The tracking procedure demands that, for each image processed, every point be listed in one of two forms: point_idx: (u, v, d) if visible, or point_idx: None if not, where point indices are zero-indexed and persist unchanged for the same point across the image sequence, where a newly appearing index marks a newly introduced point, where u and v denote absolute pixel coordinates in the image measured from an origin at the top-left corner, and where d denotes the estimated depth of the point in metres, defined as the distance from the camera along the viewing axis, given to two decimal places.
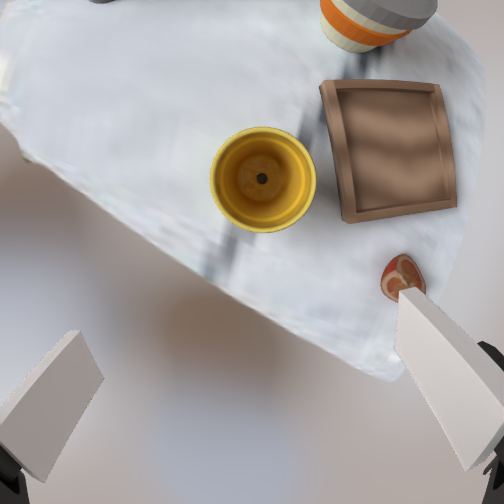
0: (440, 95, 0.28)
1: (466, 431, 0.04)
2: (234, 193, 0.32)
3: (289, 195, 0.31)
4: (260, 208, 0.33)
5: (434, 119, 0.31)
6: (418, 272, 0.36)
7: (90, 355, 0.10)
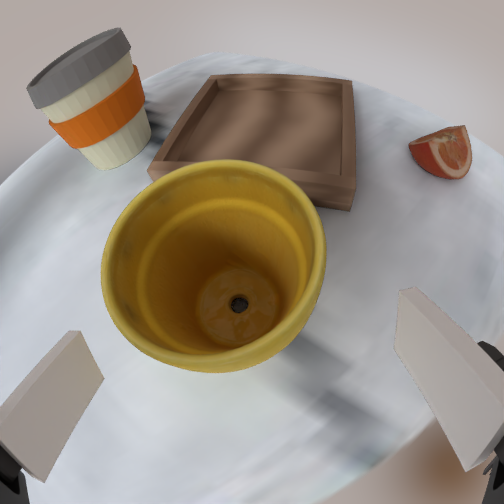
0: (222, 75, 0.31)
1: (466, 431, 0.04)
2: None
3: (276, 253, 0.17)
4: (282, 315, 0.16)
5: (248, 89, 0.32)
6: None
7: (90, 355, 0.10)
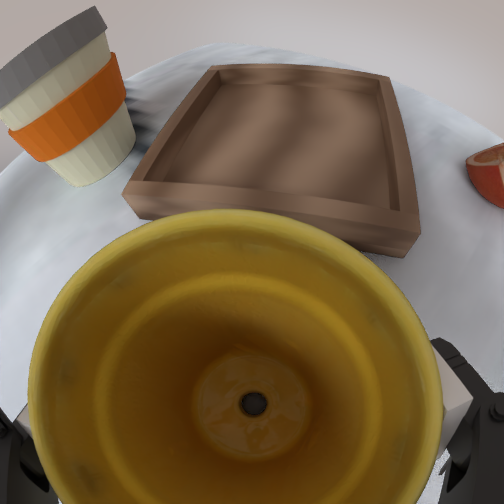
0: (225, 65, 0.24)
1: None
2: (245, 489, 0.08)
3: (317, 355, 0.10)
4: (322, 443, 0.09)
5: (258, 82, 0.25)
6: (487, 150, 0.16)
7: None
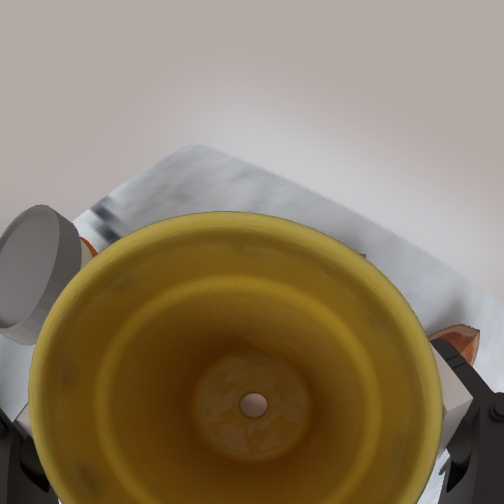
0: None
1: None
2: (246, 490, 0.08)
3: (317, 356, 0.10)
4: (322, 444, 0.09)
5: None
6: (441, 334, 0.22)
7: None
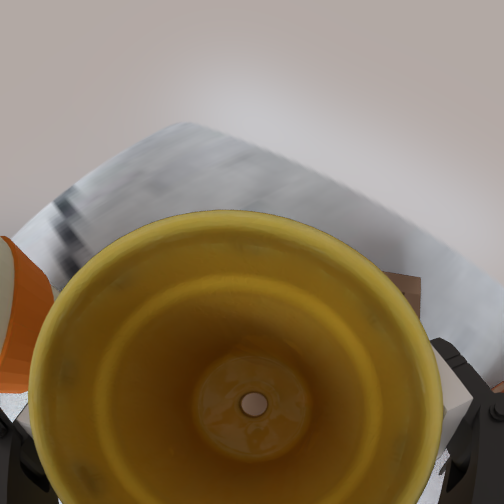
0: None
1: None
2: (246, 489, 0.08)
3: (317, 356, 0.10)
4: (322, 444, 0.09)
5: None
6: None
7: None
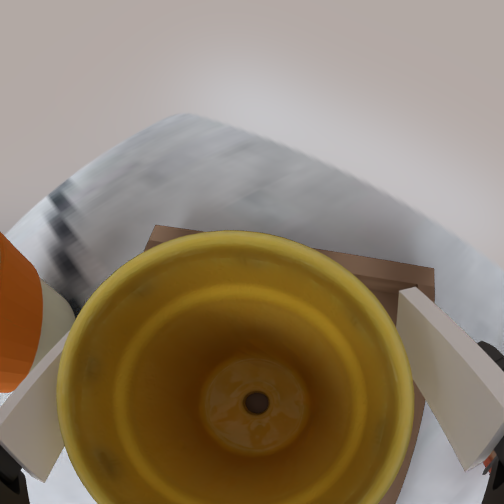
0: (175, 232, 0.18)
1: (466, 431, 0.04)
2: (248, 478, 0.09)
3: (313, 356, 0.11)
4: (318, 436, 0.10)
5: None
6: None
7: None
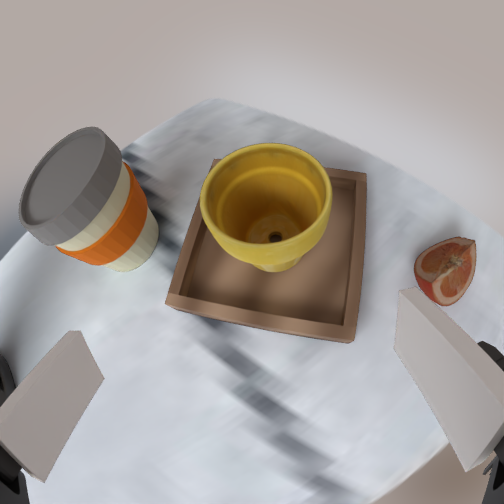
0: None
1: (466, 431, 0.04)
2: None
3: (301, 201, 0.26)
4: None
5: None
6: (440, 245, 0.25)
7: (90, 355, 0.10)
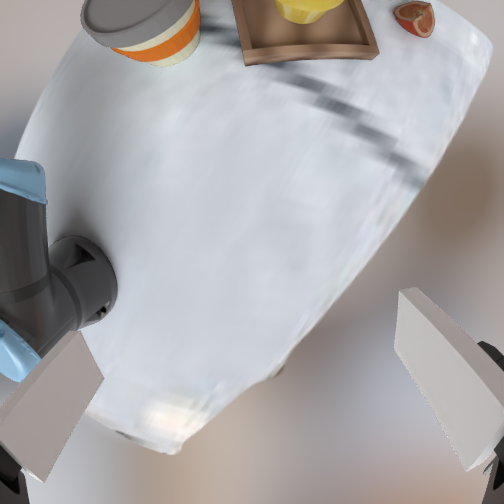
0: None
1: (466, 431, 0.04)
2: None
3: None
4: None
5: None
6: (407, 4, 0.24)
7: (90, 355, 0.10)
